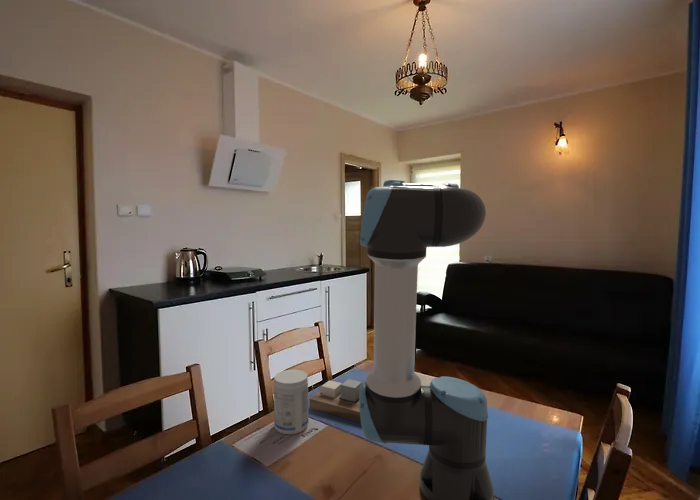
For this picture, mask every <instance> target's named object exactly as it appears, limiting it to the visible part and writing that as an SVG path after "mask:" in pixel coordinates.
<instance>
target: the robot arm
mask: <svg viewBox="0 0 700 500" xmlns="http://www.w3.org/2000/svg"><path fill="white" fill-rule="evenodd" d="M364 201H365V202H364V206H363V207H364V208H363V214H362V218H361V219H362V220H361V228H360V239H359V244H360V246H362V247H365V248H367V249H366V251H367V252H366V254H367V256H368V258H370V260H372V262H373V263H374V299H373V300H374V305H373V306H374V307H373V367H372V368H373V369H372V371H370V372H369V373H368V374H367V376H366V379H365V380H366V381H365V382H362V384H361V385H360V391H359V402H360V419H361V422H360V424H361V431H362V433H363V436H364V438H365V439H367V441H371V442H377V443H381V444H389V443H390V444H399V445H400V444H402V445H403V444H404V445H405V444H406V445H417V446H418V445H419V446H428V451H427V454H426V457H425V459H424V461H423V464H422V467H421V469H420V474H419V487H420V488H419V489H420V491H421V494H422V496H423V497H424V498H425V499H426V500H494V487H493V485H494V484H493V482H492V479H491V476H490V471H489V469H488V466H487V462H486V457H487V456H486V453H487V452H486V451H487V430H488V419H489V414H488V400H487V397H486V395H485V394H484V392H483V390H482V389H480V388H479V387H478V386H476V385H475V384H472V383H470V382H469V381H467V380H463V379H460V378H458V377H452V376H439V377H437V376H436V377H434V378H432V379H431V382H430V383H429V385H422V380H421V378H420V377H419V376H418V375H417V373H415V362H416V361H415V360H416V359H415V356H416V331H417V330H416V327H417V325H416V324H417V302H418V301H417V300H418V299H417V297H418V295H417V294H418V276H419V275H418V274H419V273H418V272H419V269H418V268H419V264H420V263H421V262H422V261H423V260H425V258H426V257H427V248H429V247H430V248H441V247H442V248H444V247H445V248H446V247H451V246H456V245H459V244H462V243H464V242H466V241H468V240H469V239H471V238H473V236H475V235H476V234H477V233H478V232H479V231H480V230H481V228H482V227H483V225H484V222H485V220H486V216H487V215H486V205H485V203H484V201H483V199H482V197H480V196H479V195H478V194H477V193H476V192H474V191H472V190H470V189H466V188H460V186H459V185H458V184H457V183H450V182H444V183H443V182H442V183H440V182H439V183H437V182H436V183H434V182H433V183H430V182H429V183H415V182H413V183H410V182H409V183H407V182H406V181H405V180H403V179H388V180H385V181H384V182H383V185H382V186H375V187H372V188H370V190H368V192H367V194H366V197H365V200H364Z"/></svg>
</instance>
